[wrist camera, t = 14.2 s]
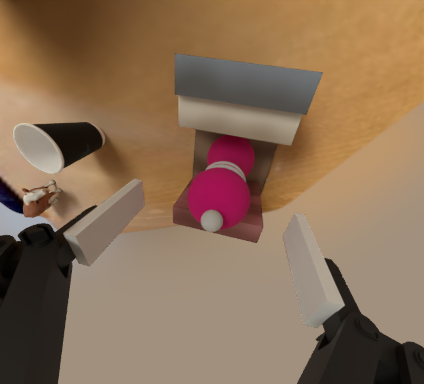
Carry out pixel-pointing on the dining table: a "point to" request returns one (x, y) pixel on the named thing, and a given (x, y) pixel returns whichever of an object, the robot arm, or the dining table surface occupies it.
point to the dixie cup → (57, 143)
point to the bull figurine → (38, 200)
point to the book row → (239, 120)
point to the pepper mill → (222, 184)
